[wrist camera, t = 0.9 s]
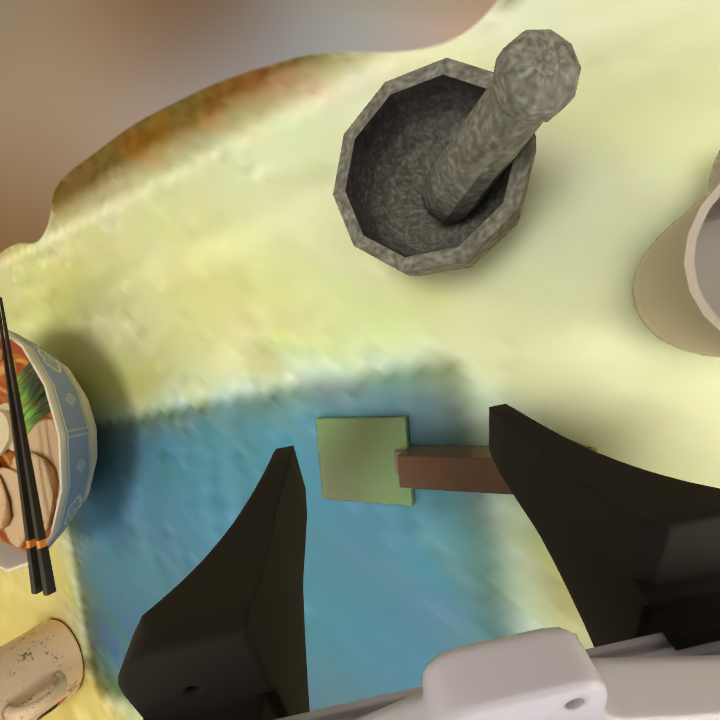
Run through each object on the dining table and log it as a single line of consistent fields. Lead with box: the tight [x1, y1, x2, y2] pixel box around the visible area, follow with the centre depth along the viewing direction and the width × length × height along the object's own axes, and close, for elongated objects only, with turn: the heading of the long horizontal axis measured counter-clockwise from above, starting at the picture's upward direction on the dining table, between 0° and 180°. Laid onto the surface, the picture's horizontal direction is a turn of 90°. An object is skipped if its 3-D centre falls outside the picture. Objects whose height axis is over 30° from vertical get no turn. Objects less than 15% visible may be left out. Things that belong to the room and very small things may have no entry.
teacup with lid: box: [0, 620, 83, 720], centre depth 40 cm, size 12×9×12 cm
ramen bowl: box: [0, 297, 98, 596], centre depth 39 cm, size 25×23×8 cm
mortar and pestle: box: [333, 30, 581, 276], centre depth 19 cm, size 11×9×12 cm
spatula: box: [316, 416, 598, 506], centre depth 25 cm, size 18×6×3 cm, turn 96°
